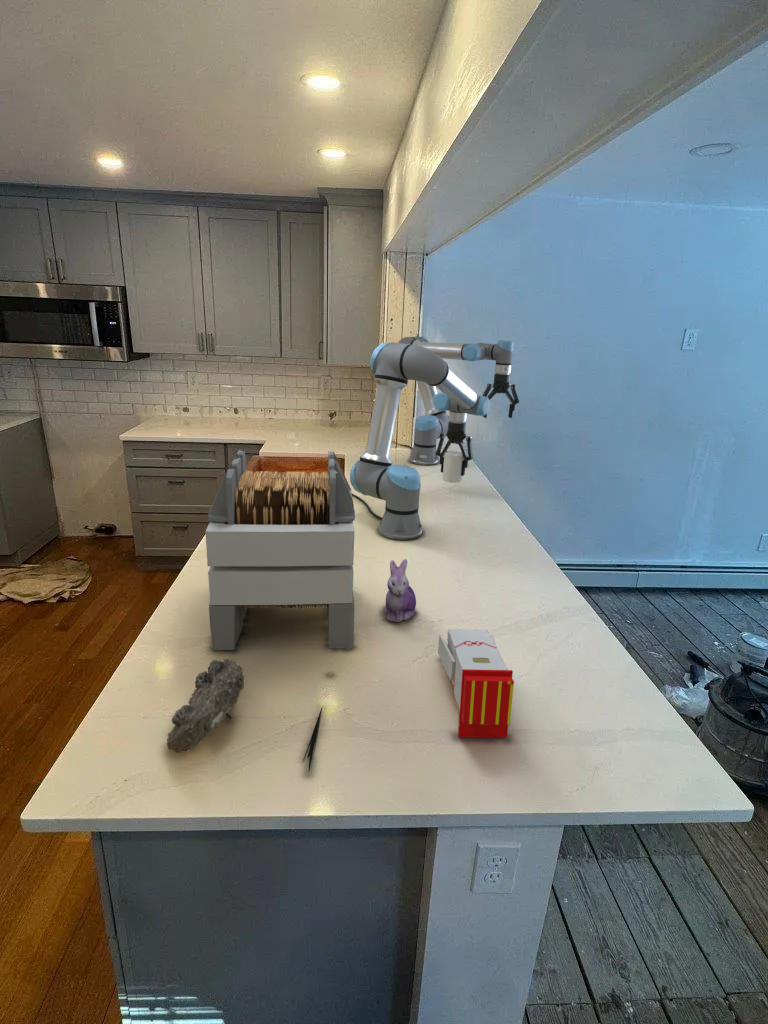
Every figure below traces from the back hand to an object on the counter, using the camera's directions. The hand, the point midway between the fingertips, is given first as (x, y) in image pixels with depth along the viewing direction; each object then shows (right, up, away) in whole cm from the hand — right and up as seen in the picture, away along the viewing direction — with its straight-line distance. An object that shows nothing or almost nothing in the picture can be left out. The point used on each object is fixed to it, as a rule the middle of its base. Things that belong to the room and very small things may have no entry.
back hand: (497, 417), depth 282 cm
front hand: (-27, -30, -35) cm, 53 cm away
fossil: (-89, -86, -174) cm, 213 cm away
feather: (-69, -87, -173) cm, 205 cm away
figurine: (-52, -74, -134) cm, 162 cm away
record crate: (-81, -73, -137) cm, 175 cm away
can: (-27, -33, -34) cm, 54 cm away
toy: (-39, -85, -163) cm, 188 cm away
